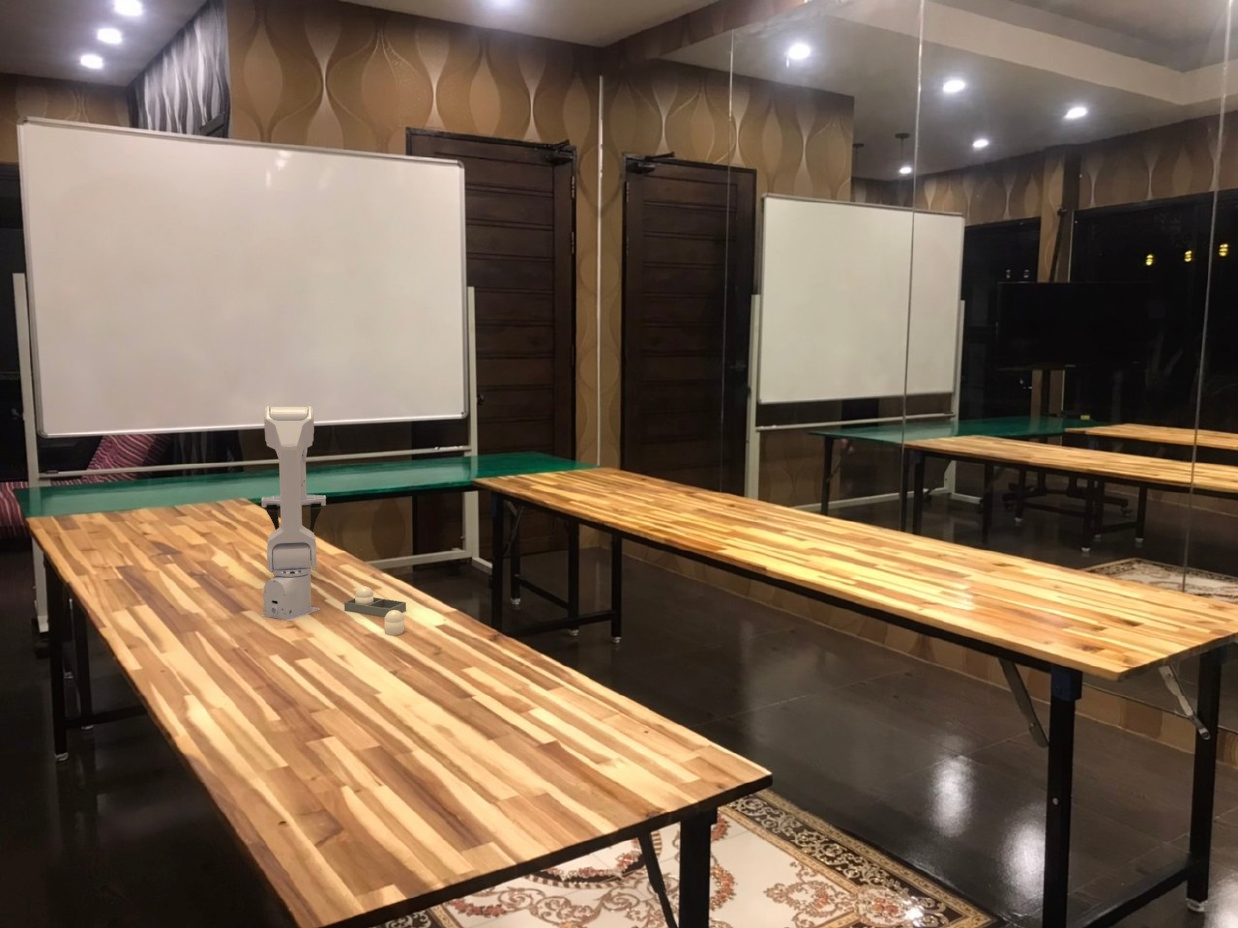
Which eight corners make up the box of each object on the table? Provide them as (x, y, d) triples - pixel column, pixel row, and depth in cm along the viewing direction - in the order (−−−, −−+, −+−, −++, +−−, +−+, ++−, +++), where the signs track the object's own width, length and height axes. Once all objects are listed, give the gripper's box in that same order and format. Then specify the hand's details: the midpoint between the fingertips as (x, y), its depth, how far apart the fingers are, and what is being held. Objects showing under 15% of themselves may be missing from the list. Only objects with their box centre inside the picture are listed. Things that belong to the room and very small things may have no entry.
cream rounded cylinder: (396, 638, 184) (396, 614, 183) (380, 635, 186) (380, 611, 185) (407, 632, 188) (407, 609, 187) (392, 629, 189) (391, 606, 188)
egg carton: (389, 619, 195) (389, 609, 195) (344, 612, 200) (344, 602, 199) (405, 612, 201) (405, 602, 200) (361, 605, 205) (361, 595, 205)
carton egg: (366, 612, 199) (366, 589, 198) (351, 609, 200) (351, 587, 199) (377, 607, 202) (377, 585, 201) (362, 605, 204) (362, 583, 203)
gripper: (325, 474, 228) (325, 525, 232) (261, 475, 224) (263, 528, 228) (325, 483, 222) (326, 536, 226) (260, 485, 218) (262, 539, 222)
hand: (294, 533), depth 227 cm, fingers open, 7 cm apart
